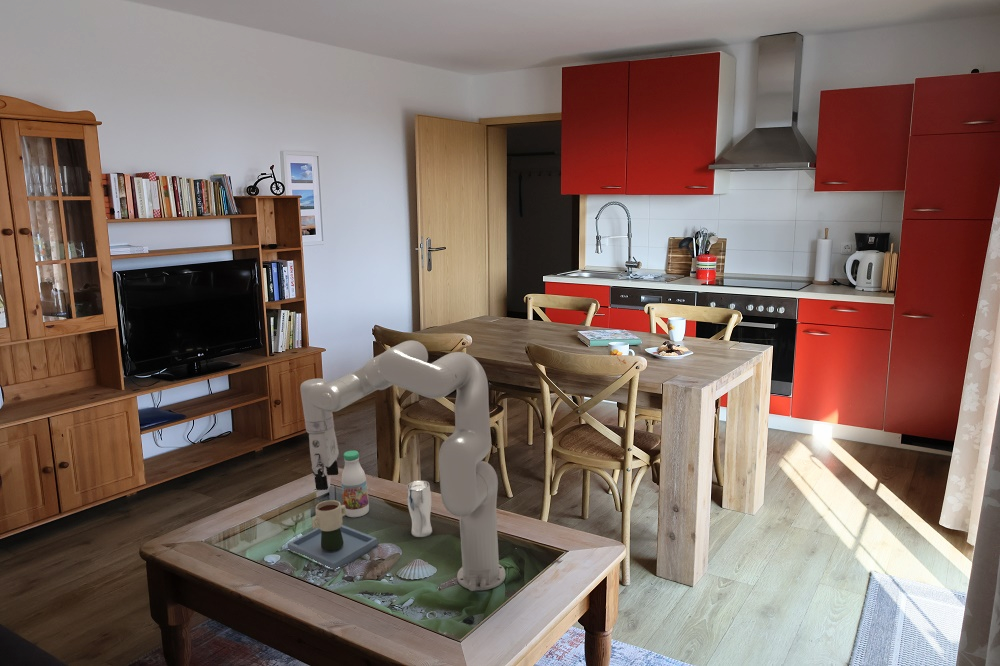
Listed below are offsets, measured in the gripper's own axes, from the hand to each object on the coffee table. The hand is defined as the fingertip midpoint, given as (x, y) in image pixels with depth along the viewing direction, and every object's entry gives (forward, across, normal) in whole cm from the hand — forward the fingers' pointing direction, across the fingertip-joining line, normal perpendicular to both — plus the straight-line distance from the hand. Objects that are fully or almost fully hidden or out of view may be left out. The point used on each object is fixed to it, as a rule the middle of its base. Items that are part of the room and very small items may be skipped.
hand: (327, 482), depth 203 cm
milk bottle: (+21, +22, 0) cm, 30 cm away
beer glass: (+22, +9, -23) cm, 33 cm away
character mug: (+20, 0, +1) cm, 20 cm away
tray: (+21, 0, +1) cm, 21 cm away
